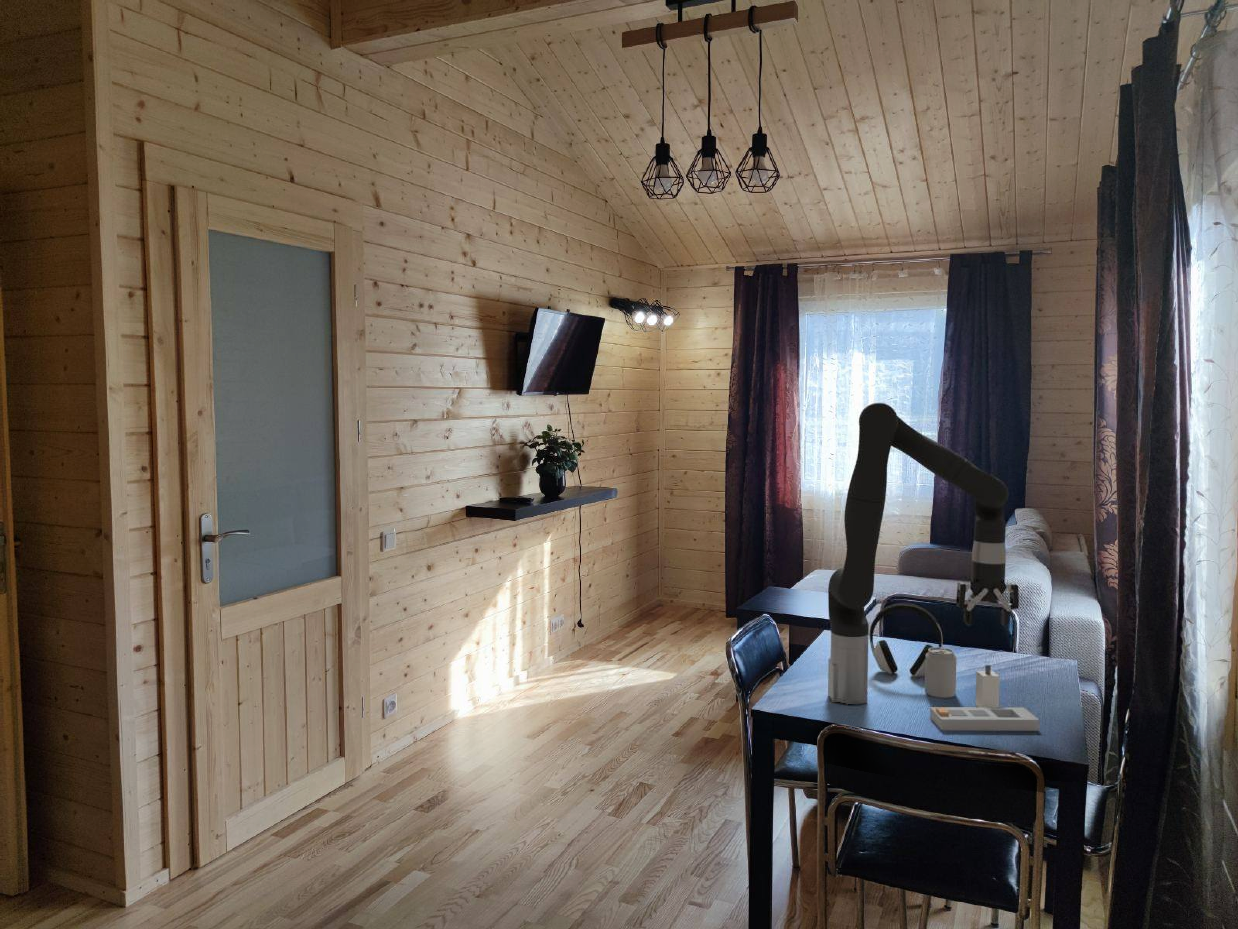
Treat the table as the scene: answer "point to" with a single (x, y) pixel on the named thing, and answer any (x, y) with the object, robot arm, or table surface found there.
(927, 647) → the headphones
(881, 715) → the table surface
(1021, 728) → the power strip
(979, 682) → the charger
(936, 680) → the can
